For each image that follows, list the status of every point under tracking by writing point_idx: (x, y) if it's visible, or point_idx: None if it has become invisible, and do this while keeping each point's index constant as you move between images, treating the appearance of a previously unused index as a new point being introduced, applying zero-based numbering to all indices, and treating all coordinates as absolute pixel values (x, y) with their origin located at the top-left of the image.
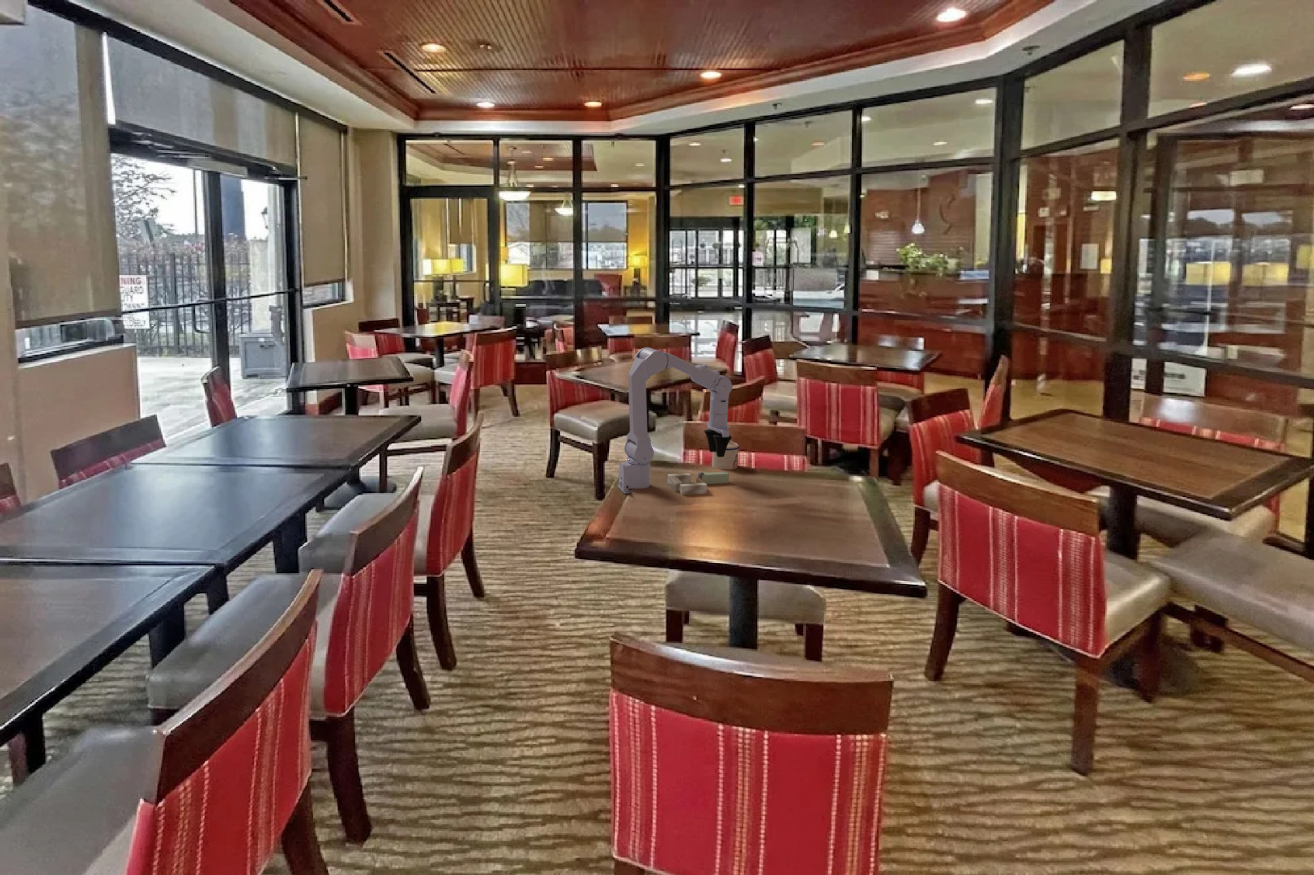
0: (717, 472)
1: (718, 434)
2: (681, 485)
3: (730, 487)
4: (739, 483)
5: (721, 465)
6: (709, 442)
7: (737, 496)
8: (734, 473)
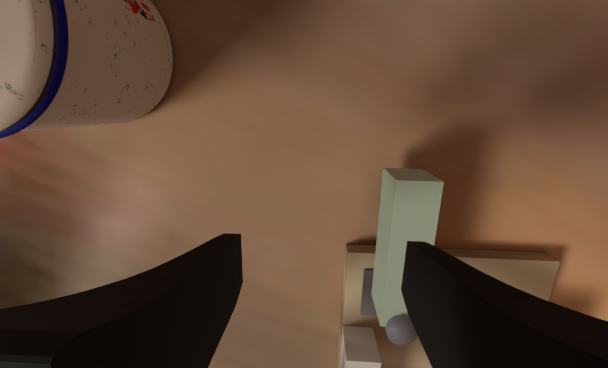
0: (395, 235)
1: (139, 348)
2: None
3: (418, 153)
4: (365, 77)
5: (141, 95)
6: (206, 361)
7: (566, 182)
8: (172, 19)
